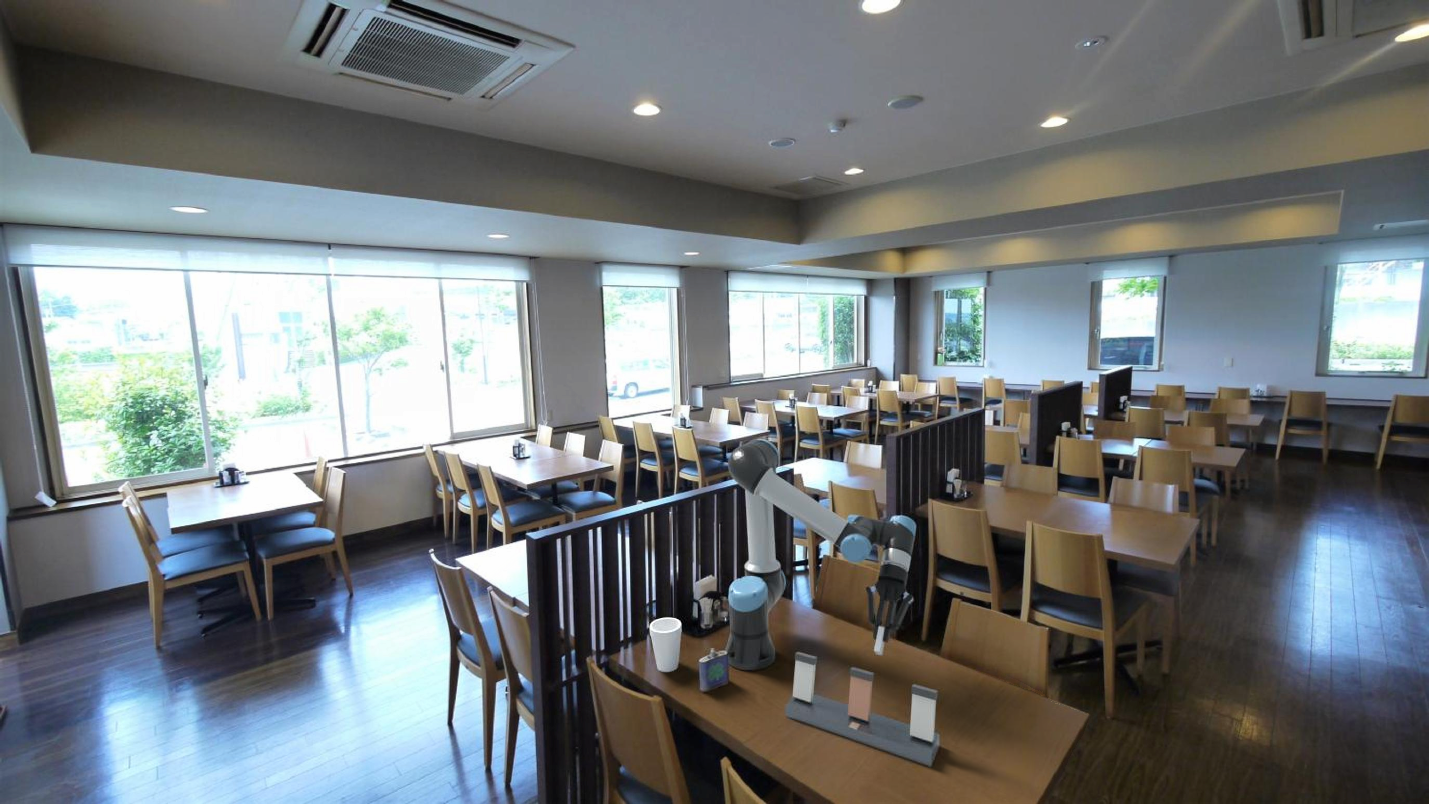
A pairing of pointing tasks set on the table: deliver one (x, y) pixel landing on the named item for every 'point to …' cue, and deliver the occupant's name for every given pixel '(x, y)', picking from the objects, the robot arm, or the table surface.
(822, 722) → the switch panel
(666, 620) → the foam cup
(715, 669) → the flask
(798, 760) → the table surface
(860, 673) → the lever middle
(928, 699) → the lever right
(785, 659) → the table surface
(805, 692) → the lever left
